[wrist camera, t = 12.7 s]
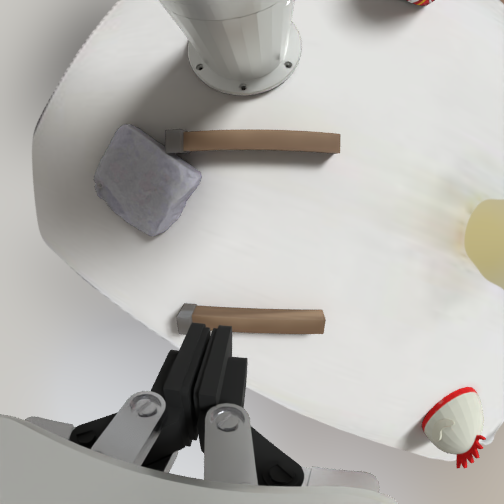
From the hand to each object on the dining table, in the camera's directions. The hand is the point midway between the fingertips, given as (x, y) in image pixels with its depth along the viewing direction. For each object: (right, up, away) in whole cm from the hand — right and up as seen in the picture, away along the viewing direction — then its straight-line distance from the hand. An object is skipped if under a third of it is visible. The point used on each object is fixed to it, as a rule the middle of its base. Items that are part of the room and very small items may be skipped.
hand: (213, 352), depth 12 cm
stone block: (-11, +13, +20) cm, 26 cm away
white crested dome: (+43, -29, +30) cm, 60 cm away
